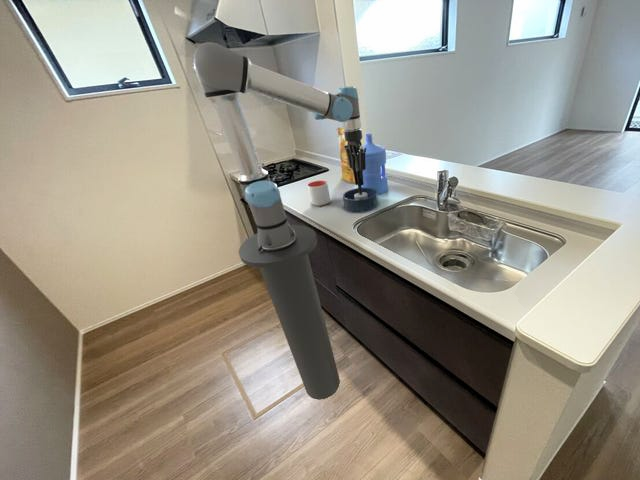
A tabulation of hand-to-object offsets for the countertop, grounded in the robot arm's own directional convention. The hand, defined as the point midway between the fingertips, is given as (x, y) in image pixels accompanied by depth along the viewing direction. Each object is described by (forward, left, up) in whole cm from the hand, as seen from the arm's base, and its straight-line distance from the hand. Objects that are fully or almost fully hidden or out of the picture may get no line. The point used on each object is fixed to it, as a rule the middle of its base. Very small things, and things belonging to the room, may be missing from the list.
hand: (359, 184), depth 139 cm
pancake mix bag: (+21, +38, -10) cm, 44 cm away
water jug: (+17, +11, -10) cm, 23 cm away
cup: (-11, +20, -10) cm, 25 cm away
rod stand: (0, 0, -6) cm, 6 cm away
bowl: (0, 0, -10) cm, 10 cm away
